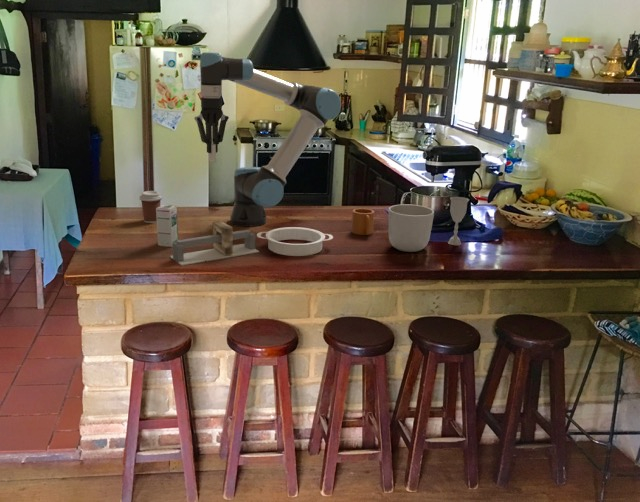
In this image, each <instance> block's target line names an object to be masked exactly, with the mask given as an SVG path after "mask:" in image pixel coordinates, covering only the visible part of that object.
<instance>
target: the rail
mask: <svg viewBox="0 0 640 502" xmlns="http://www.w3.org/2000/svg"><path fill="white" fill-rule="evenodd" d="M241 239H244V243H239V244H233V253H232V254H226V255H225V254H223V253H222V252H220V251H219V250H217V249H215V248H209V249H204V250H199V251H192V252H185V253H184V248H190V247H196V246H197V247H198V246H203V245H209V244H213V243H216V242H222V234H216V235H213V234H211V235H204V236H199V237H191V238H184V239H178V240H177V243H173V247H172V255H170V256H169V258H171V259H172V260H173V261H174V262H176V263H177V264H179V266H181V267H183V266H188V265H194V264H201V263H205V261H206V262H210V261H216V260H222V259H228V258H232V257H239V256H245V255H246V256H247V255H251V254H256V253H259V252H260V251H259V250H258V249H256V234H255V233H253V232H252V230H251V229H243V230H238V231H237V230H236V231H233V241H234V240H241Z"/></svg>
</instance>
